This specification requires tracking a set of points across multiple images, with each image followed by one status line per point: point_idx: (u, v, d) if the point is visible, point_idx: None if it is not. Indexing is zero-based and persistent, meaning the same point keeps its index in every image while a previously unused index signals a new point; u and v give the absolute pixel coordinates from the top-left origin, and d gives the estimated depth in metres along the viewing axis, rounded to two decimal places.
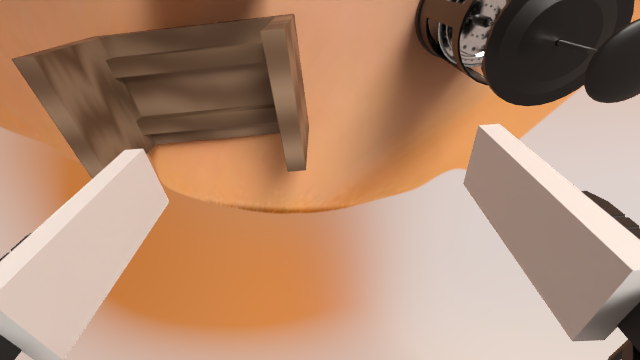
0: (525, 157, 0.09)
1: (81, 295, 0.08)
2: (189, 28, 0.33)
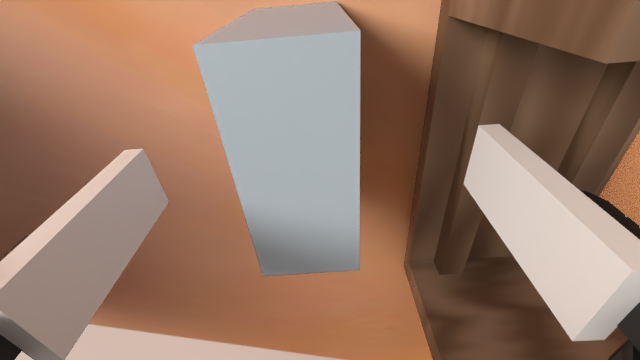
0: (525, 157, 0.09)
1: (81, 295, 0.08)
2: (425, 171, 0.21)
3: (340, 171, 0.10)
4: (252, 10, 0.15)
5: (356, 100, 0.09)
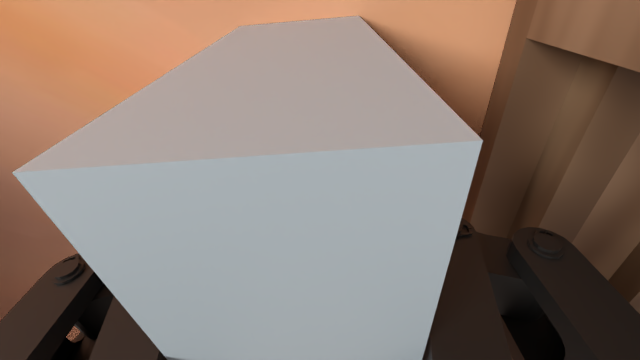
0: None
1: None
2: None
3: None
4: (235, 29, 0.10)
5: (438, 273, 0.04)
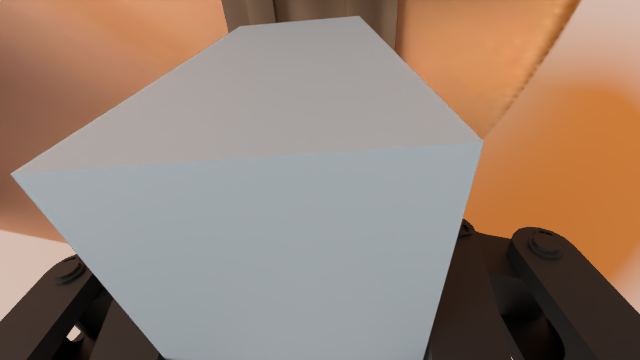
0: None
1: None
2: None
3: None
4: (235, 29, 0.10)
5: (438, 275, 0.04)
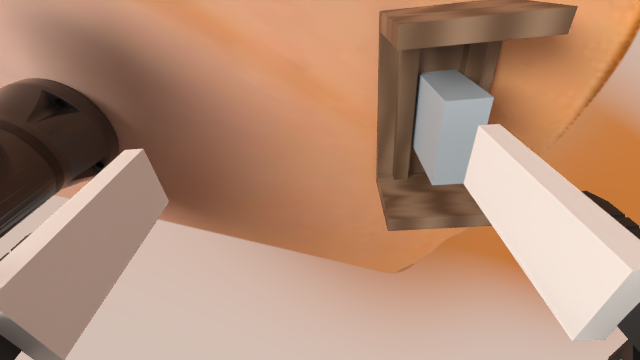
0: (525, 157, 0.09)
1: (81, 295, 0.08)
2: (380, 113, 0.39)
3: None
4: (421, 74, 0.35)
5: (488, 116, 0.28)
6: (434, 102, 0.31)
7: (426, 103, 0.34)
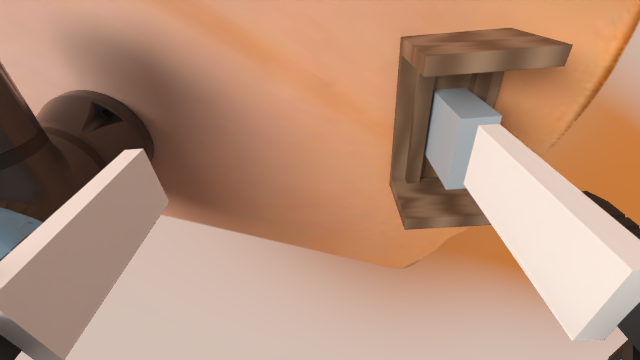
0: (525, 157, 0.09)
1: (81, 295, 0.08)
2: (397, 124, 0.44)
3: None
4: (435, 92, 0.40)
5: None
6: (449, 118, 0.36)
7: (440, 117, 0.39)
